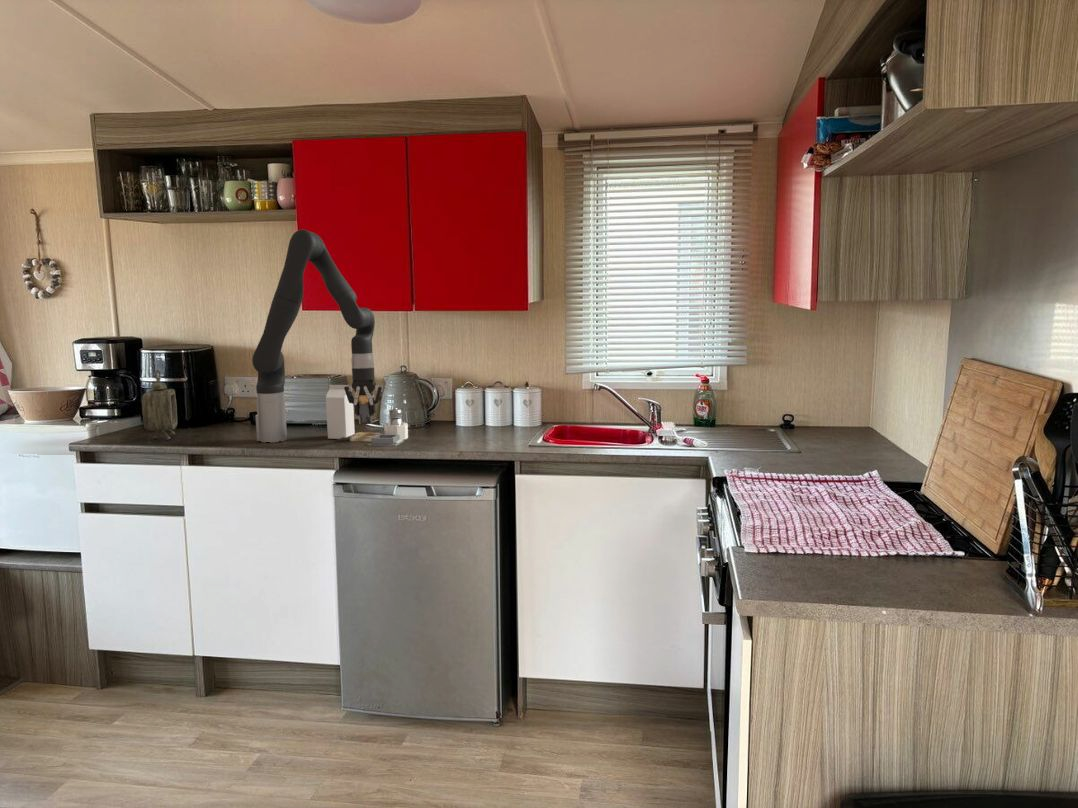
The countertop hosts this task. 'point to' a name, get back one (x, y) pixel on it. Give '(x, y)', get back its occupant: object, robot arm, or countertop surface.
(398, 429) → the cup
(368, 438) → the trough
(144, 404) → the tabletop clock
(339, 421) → the milk carton
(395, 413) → the cell
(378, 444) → the grey flat block
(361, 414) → the cell
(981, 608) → the countertop surface
